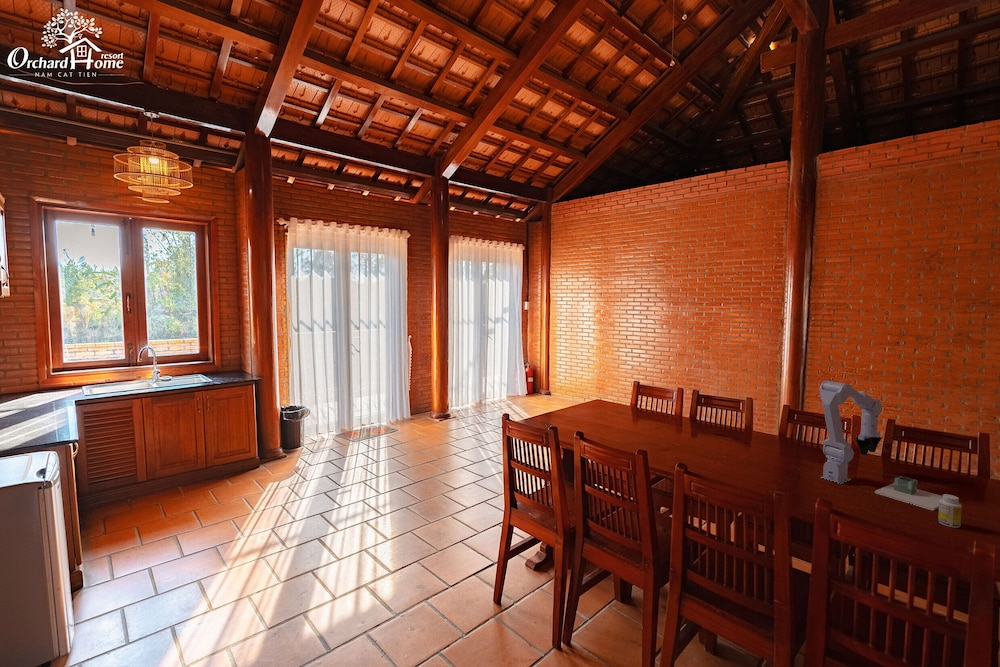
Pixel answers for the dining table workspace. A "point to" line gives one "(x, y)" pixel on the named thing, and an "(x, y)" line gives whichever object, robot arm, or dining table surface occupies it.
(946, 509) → the supplement bottle
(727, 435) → the dining table surface
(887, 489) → the pin plate
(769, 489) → the dining table surface
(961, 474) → the dining table surface
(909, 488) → the collar
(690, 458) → the dining table surface
